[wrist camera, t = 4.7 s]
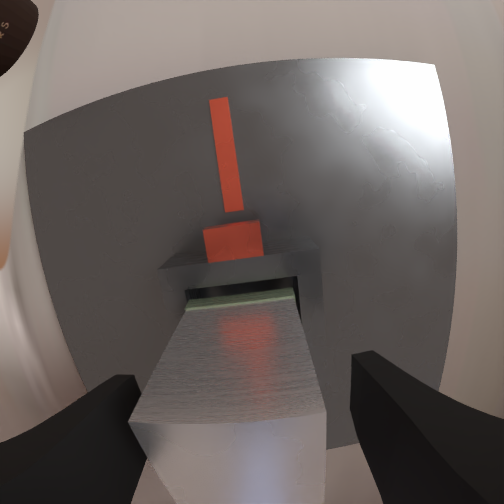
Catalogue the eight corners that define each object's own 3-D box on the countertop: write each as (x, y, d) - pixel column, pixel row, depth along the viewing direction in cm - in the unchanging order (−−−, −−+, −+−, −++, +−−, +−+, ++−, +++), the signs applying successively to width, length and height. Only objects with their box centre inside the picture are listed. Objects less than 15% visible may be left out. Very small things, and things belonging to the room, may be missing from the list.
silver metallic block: (300, 372, 11) (325, 504, 5) (209, 381, 12) (180, 511, 5) (292, 287, 11) (329, 409, 5) (189, 299, 11) (124, 419, 5)
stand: (424, 413, 17) (443, 444, 13) (125, 445, 18) (111, 477, 15) (425, 70, 12) (460, 50, 9) (34, 133, 13) (-6, 128, 10)
